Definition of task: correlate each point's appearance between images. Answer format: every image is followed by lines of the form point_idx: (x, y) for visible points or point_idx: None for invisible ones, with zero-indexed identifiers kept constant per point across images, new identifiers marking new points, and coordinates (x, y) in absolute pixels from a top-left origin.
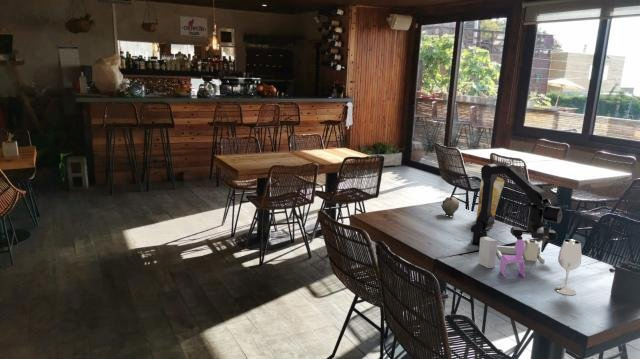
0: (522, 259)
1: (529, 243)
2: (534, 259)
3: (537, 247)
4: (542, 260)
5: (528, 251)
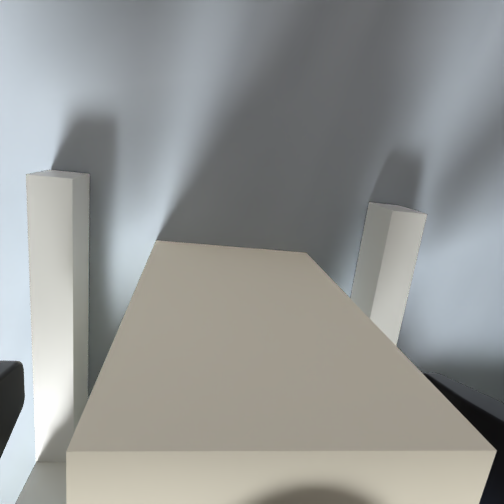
0: (387, 204)
1: (436, 437)
2: (189, 246)
3: (136, 354)
4: (75, 175)
5: (331, 303)
